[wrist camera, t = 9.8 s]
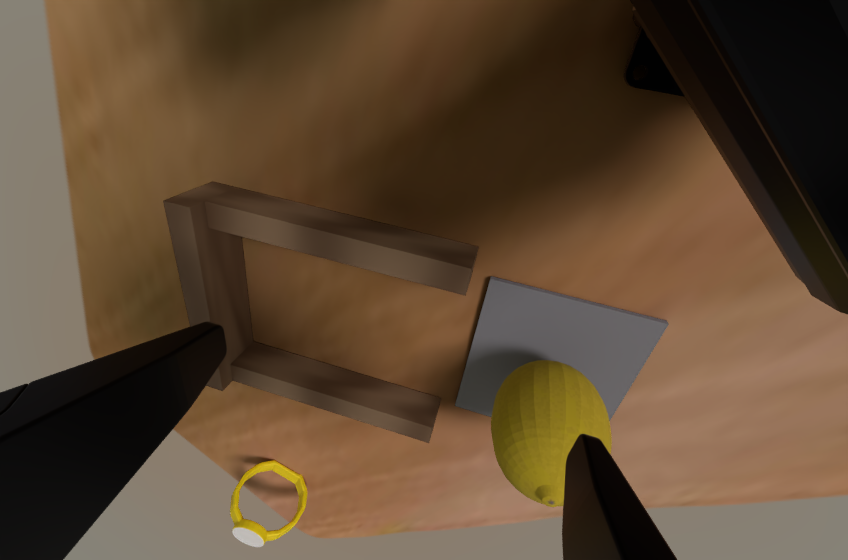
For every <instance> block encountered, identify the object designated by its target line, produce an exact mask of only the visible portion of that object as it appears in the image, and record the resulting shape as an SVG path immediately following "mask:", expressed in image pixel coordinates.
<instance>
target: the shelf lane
mask: <svg viewBox="0 0 848 560" xmlns="http://www.w3.org/2000/svg"><path fill="white" fill-rule="evenodd" d="M163 202H164V207H165V212H166V216H167V221H168V225H169V230H170V235H171V239H172V244H173V249H174V253H175V258H176V262H177V267H178V272H179V276H180V281H181V286H182V290H183V295H184V300H185V304H186V309H187V313H188V318H189V323H190V327H191V326H194V325H197V324H199V323H202V322H212V323H216V324H219V325H221V326H222V327H223V328H224V332H225V338H226V345H227V353H226V356H225V358H224V360H223V361H222V363H221V364H220V366H219V367H218V368H217V370H216V371H215V373H214V374H213V376H212V377H211V379H210V380H209V382H208V383H207V384H206V386H209V387H212V388H215V389H218V390H221V391H223V390H224V389H225V388H226V387H227V386H228V385H229V384H230V383H231V382H232V381H236V382H239V383H242V384H245V385H248V386H252V387H255V388H258V389H261V390H264V391H267V392H270V393H274V394H277V395H280V396H283V397H286V398H289V399H292V400H295V401H299V402H302V403H305V404H308V405H311V406H314V407H317V408H321V409H324V410H327V411H330V412H333V413H336V414H339V415H342V416H346V417H349V418H352V419H355V420H358V421H361V422H364V423H368V424H371V425H374V426H377V427H380V428H383V429H386V430H389V431H393V432H396V433H399V434H402V435H405V436H408V437H411V438H415V439H418V440H421V441H424V442H427V443H429V441H430V438H431V434H432V431H433V427H434V423H435V420H436V416H437V413H438V409H439V405H440V401H441V398H439V397H436V396H432V395H429V394H426V393H422V392H419V391H416V390H412V389H409V388H406V387H402V386H399V385H396V384H393V383H389V382H386V381H383V380H379V379H376V378H373V377H369V376H366V375H363V374H359V373H356V372H353V371H349V370H346V369H343V368H340V367H336V366H333V365H330V364H326V363H323V362H320V361H316V360H313V359H310V358H306V357H303V356H300V355H296V354H293V353H290V352H287V351H283V350H280V349H277V348H273V347H270V346H267V345H263V344H260V343H257V342H253V335H252V326H251V317H250V308H249V299H248V290H247V281H246V272H245V262H244V253H243V244H242V237H245V238H249V239H253V240H256V241H260V242H264V243H268V244H272V245H275V246H279V247H283V248H287V249H291V250H294V251H298V252H302V253H306V254H310V255H313V256H317V257H321V258H325V259H329V260H332V261H336V262H340V263H344V264H348V265H351V266H355V267H359V268H363V269H367V270H370V271H374V272H378V273H382V274H386V275H389V276H393V277H397V278H401V279H405V280H408V281H412V282H416V283H420V284H424V285H427V286H431V287H435V288H439V289H443V290H446V291H450V292H454V293H458V294H462V295H466V292H467V289H468V285H469V282H470V279H471V275H472V272H473V268H474V264H475V260H476V256H477V252H478V248H479V247H478V246H474V245H470V244H466V243H461V242H457V241H453V240H449V239H445V238H441V237H437V236H433V235H429V234H425V233H421V232H417V231H412V230H408V229H404V228H400V227H396V226H392V225H388V224H384V223H380V222H376V221H372V220H368V219H363V218H359V217H355V216H351V215H347V214H343V213H339V212H335V211H331V210H327V209H323V208H319V207H314V206H310V205H306V204H302V203H298V202H294V201H290V200H286V199H282V198H278V197H274V196H270V195H266V194H261V193H257V192H253V191H249V190H245V189H241V188H237V187H233V186H229V185H225V184H221V183H217V182H210V183H208V184H205V185H203V186H200V187H197V188H195V189H192V190H190V191H187V192H185V193H182V194H179V195H177V196H174V197H172V198H169V199H167V200H164V201H163Z"/></svg>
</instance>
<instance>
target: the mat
mask: <svg viewBox="0 0 848 560" xmlns="http://www.w3.org/2000/svg"><path fill="white" fill-rule="evenodd" d="M667 326H668V322H667V321H666V320H662V319H658V318H654V317H650V316H646V315H642V314H638V313H634V312H630V311H626V310H622V309H618V308H615V307H611V306H607V305H603V304H599V303H595V302H591V301H587V300H583V299H579V298H575V297H571V296H567V295H563V294H559V293H556V292H552V291H548V290H544V289H540V288H536V287H532V286H528V285H524V284H520V283H516V282H512V281H508V280H504V279H500V278H496V277H493V276H491V278H490V281H489V285H488V288H487V292H486V296H485V299H484V303H483V306H482V310H481V313H480V317H479V321H478V324H477V328H476V331H475V335H474V338H473V342H472V346H471V349H470V353H469V356H468V360H467V363H466V367H465V371H464V374H463V378H462V381H461V385H460V388H459V392H458V396H457V399H456V403H455V406H457V407H460V408H463V409H467V410H470V411H473V412H476V413H480V414H483V415H486V416H490V417H492V411H493V406H494V401H495V397H496V395H497V392H498V390H499V388H500V387H501V385H502V383H503V382H504V380H505V379H506V377H507V376H508V375H510V374H511V373H512V372H513V371H514V370H515V369H517V368H518V367H520V366H522V365H524V364H526V363H529V362H533V361H537V360H551V361H558V362H561V363H564V364H567V365H569V366H571V367H573V368H574V369H576V370H578V371H579V372H581V373H582V374H583V375H584V376H585V377H586V378H587V379H588V380H589V381H590V382H591V383H592V384H593V385H594V386H595V388H596V390H597V391H598V393H599V395H600V397H601V398H602V400H603V402H604V404H605V407H606V410H607V413H608V417H609V421H610V419H611V418H612V416H613V415H614V413H615V411H616V410H617V408H618V406H619V405H620V403H621V401H622V400H623V398H624V397H625V395H626V393H627V392H628V390H629V388H630V387H631V385H632V383H633V382H634V380H635V378H636V377H637V375H638V374H639V372H640V370H641V369H642V367H643V365H644V364H645V362H646V360H647V359H648V357H649V355H650V354H651V352H652V351H653V349H654V347H655V346H656V344H657V342H658V341H659V339H660V337H661V336H662V334H663V333H664V331H665V329H666V328H667Z"/></svg>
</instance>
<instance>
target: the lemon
mask: <svg viewBox="0 0 848 560" xmlns="http://www.w3.org/2000/svg"><path fill="white" fill-rule="evenodd" d="M491 431H492V439H493V445H494V451H495V455H496V458H497V461H498V464H499V466H500V468H501V469H502V471H503V473H504V475H505V477H506V478H507V479H508V480H509V481H510V483H511V484H512V485H513V486H514V487H515V488H516V489H517V490H518V491H520V492H521V493H522V494H524V495H525V496H526V497H528V498H530V499H532V500H534V501H536V502H538V503H541V504H545V505H547V506H549V507H556V506H563V505H564V486H565V468H566V460H567V456H568V454H569V452H570V450H571V448H572V447H573V445H574V443H575V441H576V440H577V438H578V436H579V435H580V434H587V435H590V436H593V437H597V438H599V439H600V440H601V441H602V442H603V444H604V445H605V447H606V448H607V450H608V452H609V453H610V454H611V443H612V441H611V429H610V423H609V417H608V413H607V410H606V407H605V404H604V402H603V400H602V398H601V397H600V395H599V393H598V391H597V390H596V388H595V386H594V385H593V384H592V383H591V382H590V381H589V380H588V379H587V378H586V377H585V376H584V375H583V374H582V373H581V372H579V371H578V370H576V369H574V368H573V367H571V366H569V365H567V364H564V363H561V362H558V361H551V360H537V361H533V362H529V363H526V364H524V365H522V366H520V367H518V368H517V369H515V370H514V371H513V372H512V373H511V374H510V375H508V376H507V377H506V379H505V380H504V382H503V383H502V385H501V387H500V388H499V390H498V392H497V395H496V397H495V401H494V406H493V411H492V417H491Z"/></svg>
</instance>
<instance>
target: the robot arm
mask: <svg viewBox="0 0 848 560" xmlns="http://www.w3.org/2000/svg"><path fill="white" fill-rule="evenodd" d="M630 1H631V2H632V4H633V10H632V12H633V13H634V15H633V19H634V22H635V24H636V26H640V30H639V32H638V35H637V38H636V41H635V43H634V46H633V49H632V51H631V54H630V57H629V59H628V62H627V65H626V68H625V71H624V80H625V82H626V83H627V84H628V85H630V86H632V87H635V88H640V89H646V90H652V91H657V92H663V93H668V94H674V95H679V96H685V97H686V99H687V101H688V102H689V104H690V105H691V107H692V109H693V110H694V112H695V114H696V115H697V117H698V118H699V120H700V122H701V123H702V125H703V126H704V128H705V130H706V131H707V133H708V135H709V136H710V138H711V139H712V141H713V143H714V144H715V146H716V147H717V149H718V151H719V152H720V154H721V156H722V157H723V159H724V160H725V162H726V164H727V165H728V167H729V169H730V170H731V172H732V173H733V175H734V177H735V178H736V180H737V181H738V183H739V185H740V186H741V188H742V190H743V191H744V193H745V194H746V196H747V198H748V199H749V201H750V202H751V204H752V206H753V207H754V209H755V211H756V212H757V214H758V215H759V217H760V219H761V220H762V222H763V224H764V225H765V227H766V228H767V230H768V232H769V233H770V235H771V236H772V238H773V240H774V241H775V243H776V245H777V246H778V248H779V249H780V251H781V253H782V254H783V256H784V258H785V259H786V261H787V262H788V264H789V266H790V267H791V269H792V270H793V272H794V274H795V275H796V277H797V278H799V279H800V280H801V281H802V282H803V283H804V284H805V285H806V287H807V289H808V290H809V292H810V293H811V295H812V296H814V297H815V298H817V299H819V300H820V301H822V302H824V303H825V304H827V305H829V306H831V307H832V308H834V309H836V310H837V311H840V312H842V313H845V314H848V0H630ZM639 65H643V66H644V67H645V69H646V71H645V75H644V76H643V77H642V78H641V79H639V80H636V79H634V77H633V71H634V70H635V68H636V67H638V66H639ZM226 353H227V345H226V338H225V332H224V328H223V327H222V326H221V325H219V324H216V323H212V322H202V323H199V324H197V325H194V326H191V327H188V328H185V329H182V330H179V331H176V332H174V333H171V334H168V335H165V336H162V337H159V338H156V339H153V340H151V341H148V342H145V343H142V344H139V345H136V346H133V347H130V348H128V349H125V350H122V351H119V352H116V353H113V354H110V355H107V356H104V357H102V358H99V359H96V360H93V361H90V362H87V363H84V364H82V365H79V366H76V367H73V368H70V369H67V370H65V371H61V372H58V373H56V374H53V375H50V376H47V377H44V378H41V379H38V380H35V381H33V382H31V383H29V384H24V385H21V386H18V387H15V388H12V389H9V390H6V391H4V392H1V393H0V560H63V559H64V558H65V557H66V556H67V555H68V553H69V552H70V551H71V550H72V548H73V547H74V546H75V545H76V544H77V543H78V541H79V540H80V539H81V538H82V537H83V535H84V534H85V533H86V532H87V531H88V529H89V528H90V527H91V526H92V525H93V523H94V522H95V521H96V520H97V519H98V517H99V516H100V515H101V514H102V513H103V511H104V510H105V509H106V508H107V507H108V506H109V504H110V503H111V502H112V501H113V500H114V498H115V497H116V496H117V495H118V494H119V492H120V491H121V490H122V489H123V488H124V486H125V485H126V484H127V483H128V482H129V481H130V479H131V478H132V477H133V476H134V475H135V473H136V472H137V471H138V470H139V469H140V468H141V466H142V465H143V464H144V463H145V462H146V460H147V459H148V458H149V457H150V456H151V454H152V453H153V452H154V451H155V449H156V448H157V447H158V446H159V445H160V444H161V442H162V441H163V440H164V439H165V437H167V435H168V434H169V433H170V432H171V431H172V429H173V428H174V427H175V426H176V425H177V423H178V422H179V421H180V420H181V419H182V417H183V416H184V415H185V414H186V412H187V411H188V410H189V409H190V407H191V406H192V405H193V403H194V402H195V401H196V399H197V398H198V396H199V395H200V393H201V392H202V390H203V389H204V387H205V386H206V384H207V383H208V382H209V380H210V379H211V377H212V376H213V374H214V373H215V371H216V370H217V368H218V367H219V366H220V364H221V363H222V361H223V360H224V358H225V356H226ZM562 527H563V528H562V540H563V560H677V558H676V557H675V555H674V554H673V552H672V551H671V549H670V547H669V546H668V544H667V543H666V541H665V540H664V538H663V537H662V535H661V533H660V532H659V530H658V529H657V527H656V525H655V524H654V522H653V521H652V519H651V517H650V516H649V514H648V513H647V511H646V510H645V508H644V506H643V505H642V503H641V502H640V500H639V499H638V497H637V496H636V494H635V492H634V491H633V489H632V488H631V486H630V485H629V483H628V481H627V480H626V478H625V477H624V475H623V474H622V472H621V470H620V469H619V467H618V466H617V464H616V463H615V461H614V459H613V458H612V456H611V455H610V453H609V452H608V450H607V448H606V447H605V445H604V444H603V442H602V441H601V440H600V439H599V438H597V437H593V436H590V435H587V434H580V435H579V436H578V438H577V440H576V441H575V443H574V445H573V447H572V448H571V450H570V452H569V454H568V456H567V460H566V468H565V486H564V505H563V525H562Z"/></svg>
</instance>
